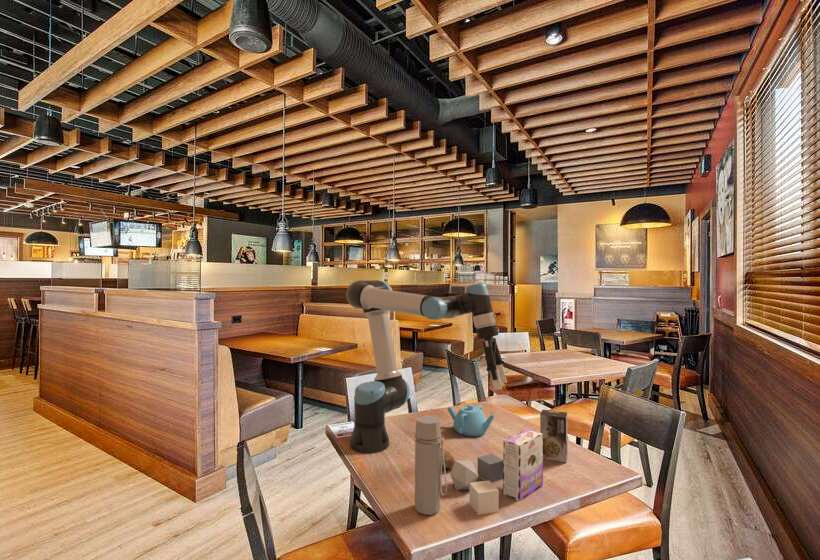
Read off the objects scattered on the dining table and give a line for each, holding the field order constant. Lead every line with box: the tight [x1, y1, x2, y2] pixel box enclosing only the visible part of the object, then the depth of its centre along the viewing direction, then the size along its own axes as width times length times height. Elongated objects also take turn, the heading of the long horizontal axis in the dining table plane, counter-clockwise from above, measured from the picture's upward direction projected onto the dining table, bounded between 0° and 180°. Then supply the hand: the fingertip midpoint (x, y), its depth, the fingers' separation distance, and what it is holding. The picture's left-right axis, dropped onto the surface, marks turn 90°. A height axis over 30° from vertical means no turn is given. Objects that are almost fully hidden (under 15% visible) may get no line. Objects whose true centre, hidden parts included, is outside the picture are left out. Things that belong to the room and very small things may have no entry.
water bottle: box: [414, 415, 448, 516], centre depth 114 cm, size 9×8×25 cm
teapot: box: [447, 403, 496, 437], centre depth 175 cm, size 15×17×11 cm
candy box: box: [502, 428, 544, 502], centre depth 125 cm, size 14×6×16 cm, turn 133°
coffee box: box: [539, 409, 569, 463], centre depth 149 cm, size 9×6×16 cm
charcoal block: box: [477, 453, 503, 484], centre depth 133 cm, size 6×6×6 cm
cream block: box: [469, 480, 500, 516], centre depth 115 cm, size 6×6×6 cm
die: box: [449, 459, 479, 491], centre depth 127 cm, size 8×9×10 cm
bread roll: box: [440, 447, 455, 475], centre depth 140 cm, size 10×10×8 cm
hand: (500, 386), depth 143 cm, fingers open, 13 cm apart
